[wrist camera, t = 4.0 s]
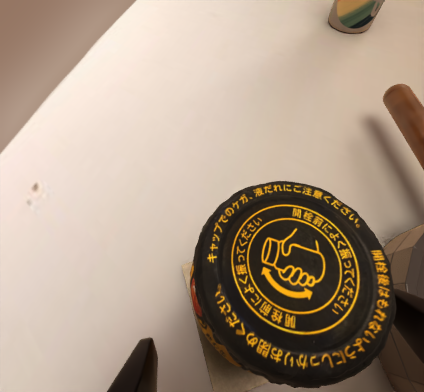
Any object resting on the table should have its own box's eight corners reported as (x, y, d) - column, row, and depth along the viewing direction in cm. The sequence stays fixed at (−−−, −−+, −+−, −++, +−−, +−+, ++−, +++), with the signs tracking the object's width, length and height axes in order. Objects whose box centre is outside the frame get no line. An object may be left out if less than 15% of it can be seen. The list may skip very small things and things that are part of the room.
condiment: (269, 236, 18) (341, 132, 8) (324, 358, 15) (610, 485, 4) (181, 265, 18) (124, 194, 7) (216, 402, 14) (212, 718, 3)
